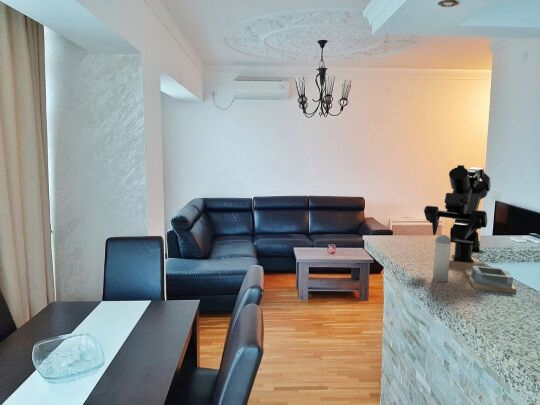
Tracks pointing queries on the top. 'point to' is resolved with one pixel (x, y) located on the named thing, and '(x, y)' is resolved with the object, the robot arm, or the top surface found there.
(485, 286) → the jig
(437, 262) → the cylinder
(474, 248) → the build plate
